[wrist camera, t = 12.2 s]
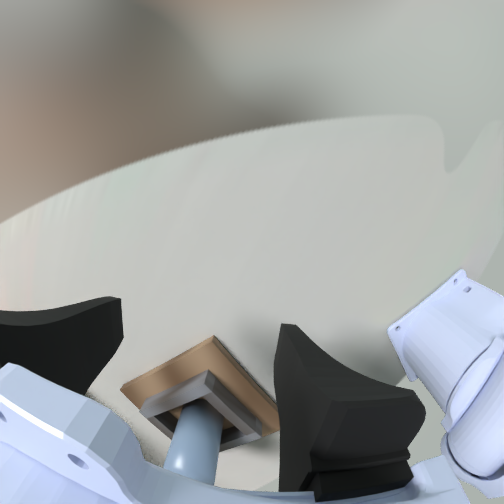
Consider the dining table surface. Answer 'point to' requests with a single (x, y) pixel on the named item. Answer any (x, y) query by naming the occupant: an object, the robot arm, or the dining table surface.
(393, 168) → the dining table surface
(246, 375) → the holder
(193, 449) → the tube
